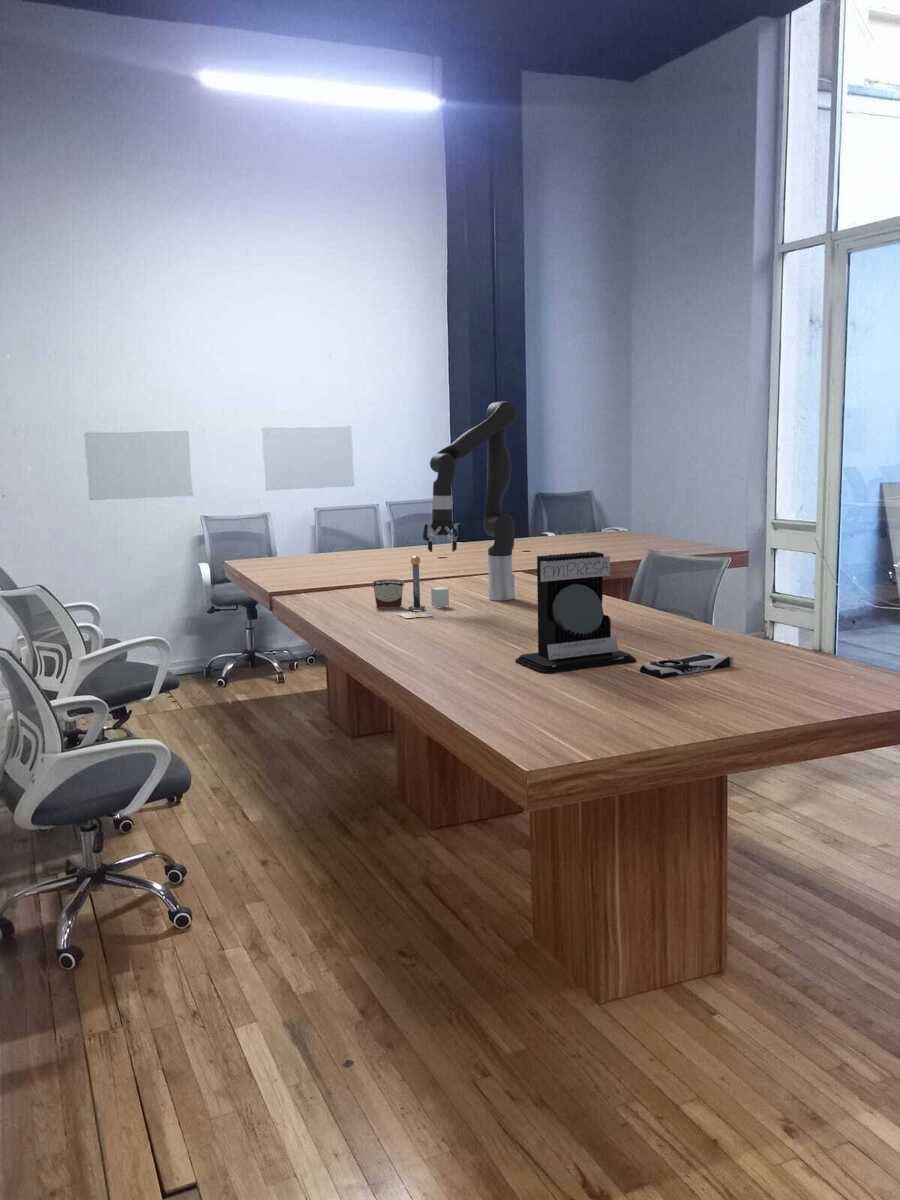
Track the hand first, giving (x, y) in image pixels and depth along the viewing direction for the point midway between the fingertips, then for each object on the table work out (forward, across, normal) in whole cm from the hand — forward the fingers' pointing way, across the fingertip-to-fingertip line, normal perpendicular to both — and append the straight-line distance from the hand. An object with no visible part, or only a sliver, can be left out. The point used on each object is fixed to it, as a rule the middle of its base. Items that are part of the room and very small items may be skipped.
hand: (442, 551), depth 378 cm
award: (+22, -21, +103) cm, 107 cm away
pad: (+21, +13, +17) cm, 30 cm away
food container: (+21, +19, -6) cm, 29 cm away
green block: (+21, +1, +1) cm, 21 cm away
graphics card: (+22, -46, +120) cm, 130 cm away
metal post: (+21, +10, +5) cm, 24 cm away
